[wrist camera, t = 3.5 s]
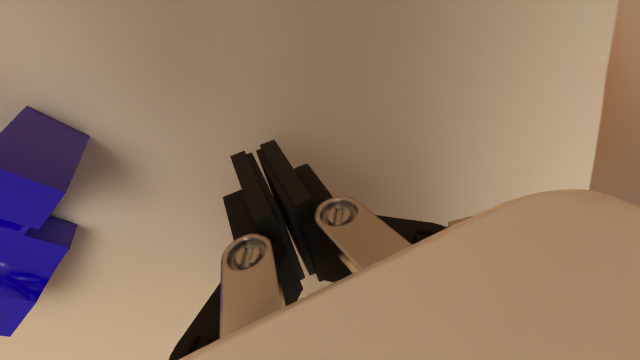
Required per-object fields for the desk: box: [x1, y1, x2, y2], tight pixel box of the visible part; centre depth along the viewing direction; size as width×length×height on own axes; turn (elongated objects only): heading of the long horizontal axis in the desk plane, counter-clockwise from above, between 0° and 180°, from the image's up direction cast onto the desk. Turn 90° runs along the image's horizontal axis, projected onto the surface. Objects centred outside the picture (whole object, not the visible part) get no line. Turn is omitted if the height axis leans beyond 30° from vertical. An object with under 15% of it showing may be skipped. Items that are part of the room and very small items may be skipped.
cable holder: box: [0, 106, 89, 337], centre depth 11 cm, size 8×4×4 cm, turn 136°
